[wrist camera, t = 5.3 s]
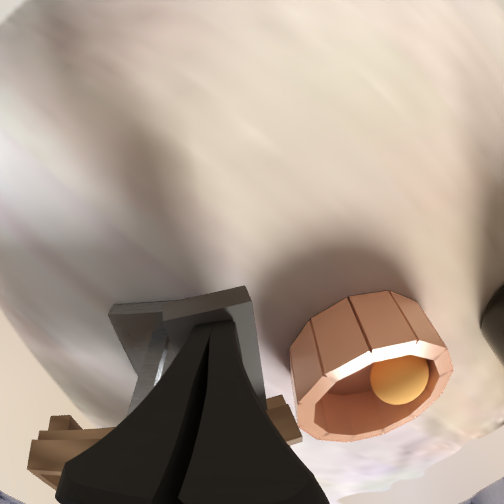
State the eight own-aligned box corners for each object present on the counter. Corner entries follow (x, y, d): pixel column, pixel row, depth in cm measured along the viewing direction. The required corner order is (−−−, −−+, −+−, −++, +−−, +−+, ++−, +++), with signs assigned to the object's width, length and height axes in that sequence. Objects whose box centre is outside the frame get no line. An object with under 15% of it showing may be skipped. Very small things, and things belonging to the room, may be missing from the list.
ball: (406, 419, 17) (365, 390, 20) (439, 371, 18) (397, 346, 21) (401, 411, 14) (351, 376, 17) (440, 354, 15) (390, 325, 18)
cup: (370, 400, 23) (384, 443, 19) (265, 380, 21) (268, 433, 17) (448, 314, 19) (477, 357, 15) (341, 270, 17) (365, 323, 13)
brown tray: (91, 460, 17) (91, 512, 13) (-21, 320, 10) (-57, 385, 6) (279, 430, 19) (300, 484, 15) (260, 260, 13) (302, 331, 9)
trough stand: (167, 414, 23) (154, 490, 17) (113, 304, 18) (67, 399, 11) (236, 413, 23) (235, 494, 17) (206, 297, 18) (188, 407, 11)
